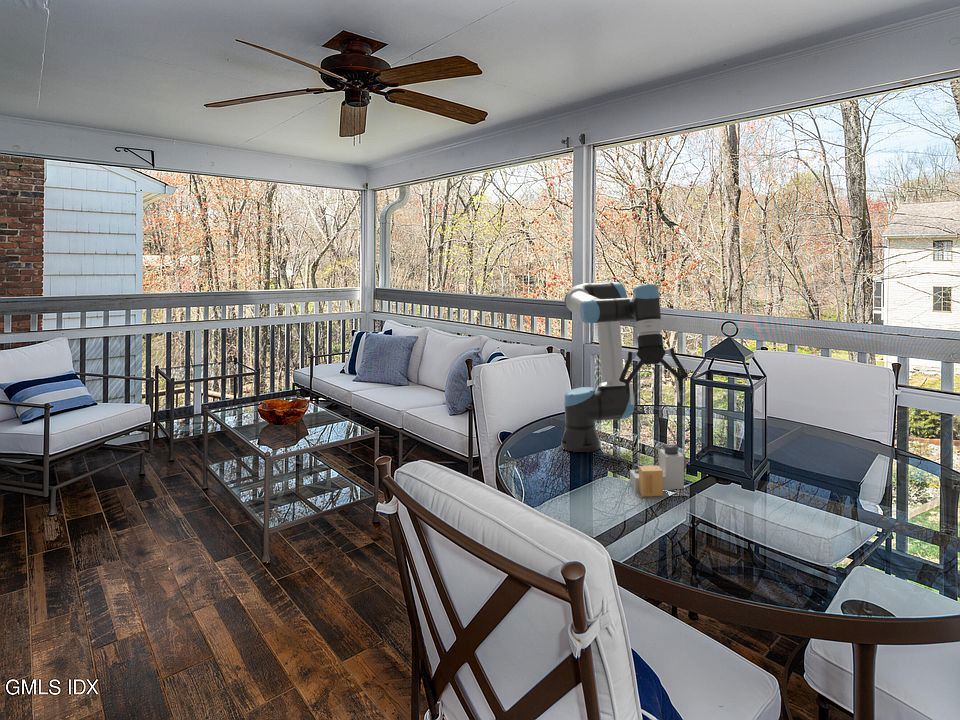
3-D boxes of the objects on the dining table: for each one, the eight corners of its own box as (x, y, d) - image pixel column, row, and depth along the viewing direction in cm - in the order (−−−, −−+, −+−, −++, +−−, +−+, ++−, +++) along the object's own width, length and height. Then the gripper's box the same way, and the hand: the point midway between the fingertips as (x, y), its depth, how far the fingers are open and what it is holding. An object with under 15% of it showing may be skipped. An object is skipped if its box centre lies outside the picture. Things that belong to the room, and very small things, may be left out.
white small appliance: (639, 498, 173) (639, 457, 171) (629, 483, 185) (629, 444, 183) (689, 496, 173) (689, 455, 171) (676, 481, 185) (676, 442, 183)
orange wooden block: (643, 497, 173) (642, 471, 171) (639, 490, 177) (638, 466, 176) (663, 496, 172) (663, 470, 171) (658, 490, 177) (658, 465, 176)
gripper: (607, 337, 176) (612, 405, 175) (692, 329, 168) (699, 401, 167) (609, 339, 184) (615, 405, 182) (692, 331, 175) (698, 400, 174)
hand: (655, 403), depth 174 cm, fingers open, 13 cm apart
